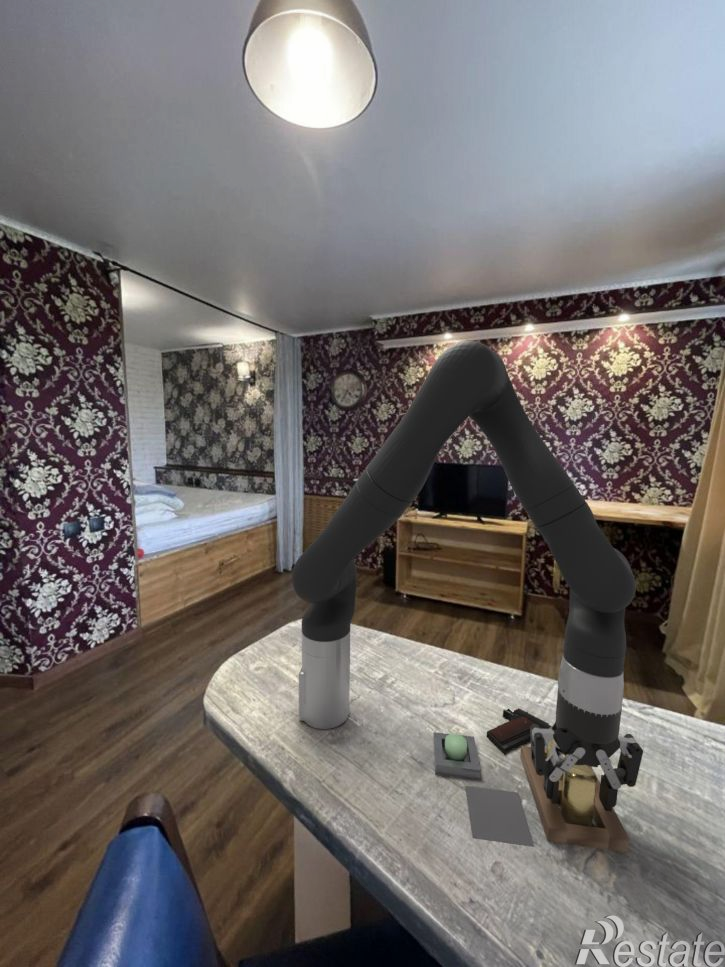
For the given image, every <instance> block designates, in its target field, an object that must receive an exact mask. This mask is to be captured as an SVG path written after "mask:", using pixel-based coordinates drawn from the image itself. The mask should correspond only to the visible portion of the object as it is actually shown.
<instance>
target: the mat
mask: <svg viewBox="0 0 725 967" xmlns="http://www.w3.org/2000/svg"><path fill="white" fill-rule="evenodd" d="M464 788H465V795H466V802H467V803H466V804H467V810H468V815H469V822H470V830H471V836H472V839H478V840H485V841H491V842H498V843H503V844H504V843H507V844H513V845H518V846H526V847H535V845H534V841H533V837H532V833H531V830H530V826H529V823H528V820H527V819H528V818H527V817H526V816H527V815H526V814H525V810H524V806H523V803H522V799H521V795H520V792H519V791H511V790H501V789H494V788H487V787H479V786H478V787H477V786H471V785H470V786H469V785H464Z"/></svg>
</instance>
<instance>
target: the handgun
mask: <svg viewBox="0 0 725 967" xmlns="http://www.w3.org/2000/svg"><path fill="white" fill-rule="evenodd" d="M502 718H504V719H505V720H508V721H507V722H504V723H502V724H499V725H498V726H496V727H494V728H492V729H489V730H487V731H486V738H487V739H488V740H489V742H490V743H492V745H494V746H495V747H496V748H497V749H498V750H499V751H500V752H501V753H502V754H503V755H504V756H506V755H507V754H506V753H508V752H509V751H510V752H511V751H512V750H514V749H516V748H518V747H521V746H524V745H525V744H527V743H531V736H530V726H531V725H532V724H537V725H538V726H539V728H540V729H549V728H550V727H552V726H553V725H550V724H549V722H547V721H545V720H542V719H541V718H539V717H536V716H535V715H533V714H531V713H530V712H528V711H525V710H523V709H521V708H516V709H514V710H512V709H510V708H507V709H503V710H502Z"/></svg>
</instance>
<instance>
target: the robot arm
mask: <svg viewBox="0 0 725 967" xmlns="http://www.w3.org/2000/svg"><path fill="white" fill-rule="evenodd" d="M511 380H512V379H511V378H510V376H509V373H508V370H507V368H506V364H505V362H504V361H503V359H502V358H501V357H500V355H499V354H497V353H496V352H495V351H494V350H493V349H491V348H490V347H489V346H487V345H486V344H484V343H482V342H480V341H476V340H462V341H459V342H456V343H454V344H452V345H451V346H449V347H448V348H446V349H445V350H444V351H443V352H442V353H441V354H440V355H438V358H437V359H436V360H435V362H434V363H433V365H432V367H431V368H430V370H429V372H428V374H427V375H426V376H425V379H424V381H423V383H422V385H421V386H420V388H419V390H418V392H417V393H416V395H415V397H414V399H413V401H412V402H411V404H410V406H409V407H408V409H407V411H406V413H405V414H404V415H403V417H402V419H401V420H400V421H399V422H398V424H397V426H396V427H395V428H394V430H393V431H392V432H391V433H390V434H389V436H388V437H387V439H386V440H385V441H384V442H383V444H382V446H381V447H380V448H379V450H378V451H377V453H376V454H375V455H374V457H373V458H372V459H371V460H370V462H369V463H368V464H367V466H366V467H365V469H364V470H363V471H362V473H361V475H359V477H358V478H357V480H356V482H355V483H354V485H353V486H352V488H351V489H350V491H349V493H348V494H347V495H346V497H345V498H344V499H343V501H342V503H341V504H340V506H339V507H338V509H337V510H336V512H335V513H334V514H333V516H332V517H331V519H330V521H329V522H328V523H327V525H326V526H325V527H324V529H323V530H322V531H321V533H319V535H318V536H317V537H316V538H315V539H314V540H313V542H312V543H311V544H310V545H309V546H308V547H307V548H306V549H305V550H304V551H303V552H302V554H301V555H300V556H299V557H298V558H297V560H296V561H295V564H294V566H293V568H292V574H291V582H292V587H293V589H294V592H295V594H296V595H297V597H298V598H300V600H302V601H304V602H307V603H309V604H310V605H308V607H307V609H306V610H305V611H304V613H303V615H302V617H301V669H300V670H299V672H298V721H302V722H305V723H306V724H307V725H308V726H310V727H311V728H315V729H319V730H330V729H333V728H337V727H339V726H341V725H342V724H343V723H345V722H346V721H347V719H348V717H349V715H350V703H351V702H350V692H351V689H350V688H351V687H350V685H351V684H350V683H351V682H350V680H351V679H350V678H351V677H350V676H351V624H352V623H351V622H352V620H353V617H354V615H355V610H356V598H357V597H356V596H357V582H358V580H357V579H358V578H357V577H358V576H357V574H358V573H357V572H358V571H357V565H356V561H355V559H356V557H357V556H358V555H359V554H360V553H361V552H363V551H364V550H365V549H366V548H367V547H368V546H370V545H371V544H372V543H373V542H374V541H376V540H377V539H378V538H380V537H381V536H382V535H383V534H384V533H385V532H387V531H388V530H389V529H390V528H391V527H392V526H393V525H394V524H395V523H396V522H397V521H398V520H399V519H400V518H401V517H402V515H403V514H404V513H405V512H406V510H407V509H408V508H409V506H411V504H412V503H413V502H414V501H415V499H416V498H417V497H418V495H419V494H420V492H421V491H422V489H423V487H424V486H425V484H426V482H427V480H428V477H429V475H430V473H431V471H432V468H433V466H434V464H435V462H436V459H437V457H438V454H439V453H440V451H441V450H442V448H443V446H444V445H445V444H446V443H447V441H448V440H449V438H450V437H451V436H453V435H454V433H455V432H456V431H457V430H458V429H459V427H461V425H463V423H464V422H465V421H466V420H467V419H468V418H469V417H470V418H471V419H472V420H473V422H474V423H475V424H476V426H477V427H479V429H480V430H481V431H482V433H483V434H484V435H485V437H486V438H487V439H488V442H489V443H490V445H491V446H492V449H493V450H494V451H495V454H496V455H497V458H498V460H499V461H500V464H501V467H502V468H503V470H504V472H505V475H506V477H507V480H508V482H509V484H510V486H511V489H512V490H513V493H514V494H515V496H516V498H517V499H518V501H519V503H520V505H521V506H522V508H523V510H524V511H525V513H526V514H527V516H528V517H529V519H530V520H531V522H532V523H533V525H534V527H535V528H536V530H537V532H539V534H540V535H541V536H542V538H543V539H544V541H545V543H546V545H547V546H548V549H549V550H550V553H551V555H552V557H553V559H554V561H555V563H556V565H557V567H558V569H559V571H560V573H561V575H562V576H563V579H564V581H565V582H566V584H567V586H568V587H569V612H568V617H567V621H566V626H565V631H564V632H565V633H564V640H563V649H562V652H563V653H562V657H561V658H562V659H561V662H560V667H559V674H558V678H557V696H556V697H557V698H556V708H555V721H554V723H553V725H551V726H552V728H551V729H540V728H539V726H538V725H537V724H532V725H531V726H530V736H531V741H530V747H531V759H532V762H533V765H534V768H535V771H536V773H537V775H539V776H543V775H544V782H543V788H544V790H545V793H546V796H547V799H550V802H551V804H557V801H558V790H559V781H558V779H559V778H560V777H561V775H562V774H563V773H564V772H569V770H570V769H571V768H572V767H573V765H588V766H591V767H592V768H598V767H599V766H600V768H601V770H602V772H603V773H604V774H601V775H600V781H599V782H600V791H599V799H600V801H601V803H602V805H603V807H604V809H605V811H612V807H613V808H615V807H616V805H617V799H618V792H619V789H620V788H621V787H622V786H623V785H624V786H625V785H626V786H627V787H629V788H631V787H632V788H634V787H635V786H636V784H637V779H638V776H639V771H640V768H641V763H642V758H643V754H644V750H643V748H642V747H641V745H640V744H639V743H638V741H637V740H636V738H635V737H634V736H633V735H632V734H631V733H626V734H625V735H624V736H619V735H620V729H621V727H620V726H621V719H622V711H623V710H622V708H623V700H624V694H625V693H624V691H625V688H624V687H625V684H624V682H625V680H624V668H625V660H626V651H627V635H626V629H625V613H626V608H627V607H628V606H629V605H630V604H631V603H632V601H633V600H634V598H635V596H636V590H637V587H636V586H637V583H636V579H635V576H634V573H633V570H632V568H631V565H630V563H629V561H628V560H627V558H626V556H625V555H624V554H623V553H621V552H620V551H619V550H618V549H617V548H614V547H613V545H612V544H611V543H610V541H609V540H608V537H606V534H605V533H603V531H602V529H601V528H600V527H599V525H598V523H597V521H596V520H597V519H596V517H595V515H594V513H593V511H592V509H591V507H590V506H589V503H587V501H586V500H585V498H584V496H583V495H582V494H581V492H580V490H579V489H578V488H577V486H576V484H575V483H574V482H573V480H572V479H571V477H570V475H569V474H568V473H567V471H566V470H565V469H564V467H563V466H562V465H561V463H560V462H559V461H558V459H557V458H556V456H555V455H554V453H553V452H552V451H551V450H550V448H549V446H548V445H547V444H546V443H545V441H544V440H543V439H542V437H541V435H540V434H539V432H538V431H537V430H536V428H535V427H534V425H533V423H532V421H531V420H530V417H529V416H528V414H527V413H526V411H525V409H524V407H523V405H522V403H521V401H520V399H519V397H518V395H517V392H516V389H515V387H514V386H513V383H512V381H511ZM551 740H554V741H555V742H556V743H555V744H554V745H553V747H552V748H551V753H550V755H549V756H548V757H547V759H546V760H545V749H547V748H548V745H549V742H550V741H551ZM619 750H620V755H619V758H618V762H617V766H616V767H615V768H613V766H612V764H611V761H610V759H609V758H611V757H612V756H613V755H614V754H615V753H616V752H617V751H619ZM563 754H564V755H565V757H564V756H563Z"/></svg>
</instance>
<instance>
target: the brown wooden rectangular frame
mask: <svg viewBox="0 0 725 967" xmlns="http://www.w3.org/2000/svg"><path fill="white" fill-rule="evenodd" d="M546 756H547V749H545V760H546ZM519 759H520V761H521V763H522V767H523V771H524V773H525V776H526V779H527V782H528V784H529V788H530V791H531V793H532V797H533V800H534V804H535V807H536V809H537V810H536V811H537V813H538V816H539V820H540V822H541V825H542V828H543V830H544V835H545V837H546V841H547V842H551V843H557V844H564V845H572V846H580V847H587V848H594V849H601V850H608V851H612V852H613V851H615V852H622V853H628V851H629V844H630V837H629V835H628V833H627V831H626V829H625V828H624V825H623V824H622V822H621V820H620V818H619V816H618V814H617V812H616V811H615V809H614V808H615V807H612V811H605V809H604V807H603V805H602V803H601V801H600V799H599V791H600V782H601V781H599V778H598V777H597V775H596V773H595V771H594V769H593V767H591V766H588V765H586V766H588V767H589V768H590V769H591V770H592V771H593V772H594V773H595V775H596V777H597V783H596V793H595V803H594V812H593V821H594V822H595V825H596V826H592V827H589V826H582V825H574V824H567V823H565V821H564V819H563V816H562V814H561V811H560V808H561V807H559V806H560V805H559V804H561V797H562V785H563V780H558V781H559V790H558V801H557V804H551V802H550V799H547V796H546V793H545V790H544V788H543V782H544V775H543V776H539V775H537V773H536V771H535V768H534V765H533V762H532V759H531V746H526V745H521V746H520V758H519Z"/></svg>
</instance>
